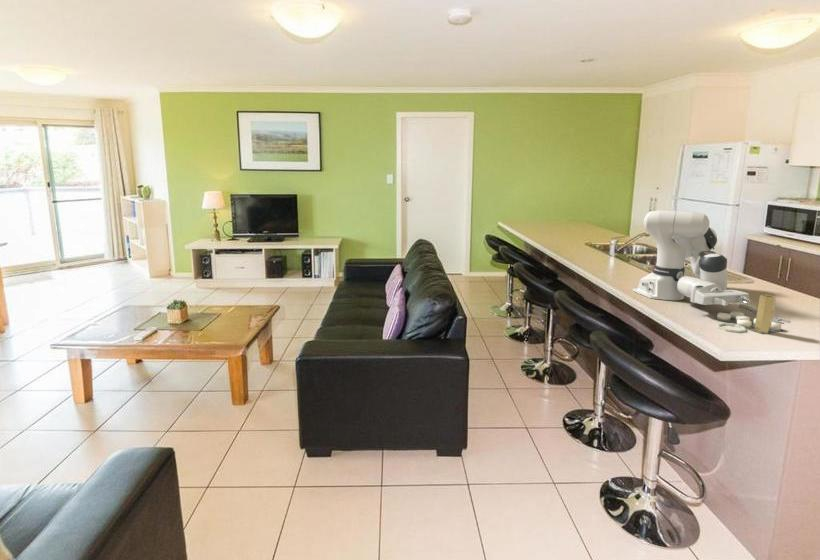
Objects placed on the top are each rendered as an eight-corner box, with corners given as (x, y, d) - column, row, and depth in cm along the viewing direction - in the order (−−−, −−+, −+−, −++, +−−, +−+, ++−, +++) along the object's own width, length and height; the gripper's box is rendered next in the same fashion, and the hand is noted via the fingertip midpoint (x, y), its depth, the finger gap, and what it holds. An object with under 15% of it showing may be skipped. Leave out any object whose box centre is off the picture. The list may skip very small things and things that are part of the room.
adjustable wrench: (737, 307, 211) (737, 303, 210) (752, 308, 210) (753, 304, 210) (775, 326, 186) (776, 321, 186) (793, 326, 186) (794, 322, 186)
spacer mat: (711, 320, 192) (712, 313, 192) (734, 316, 196) (735, 310, 196) (762, 336, 174) (763, 329, 173) (786, 332, 178) (787, 325, 177)
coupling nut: (752, 331, 177) (758, 295, 174) (757, 328, 180) (763, 293, 177) (766, 334, 174) (773, 298, 171) (770, 331, 177) (777, 296, 174)
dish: (710, 328, 183) (711, 324, 183) (728, 325, 186) (728, 321, 185) (732, 335, 175) (733, 331, 175) (750, 333, 178) (751, 329, 177)
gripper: (730, 299, 203) (759, 309, 190) (686, 302, 199) (713, 312, 186) (733, 284, 201) (762, 293, 188) (688, 287, 198) (715, 296, 185)
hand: (737, 302), depth 187 cm, fingers open, 8 cm apart
